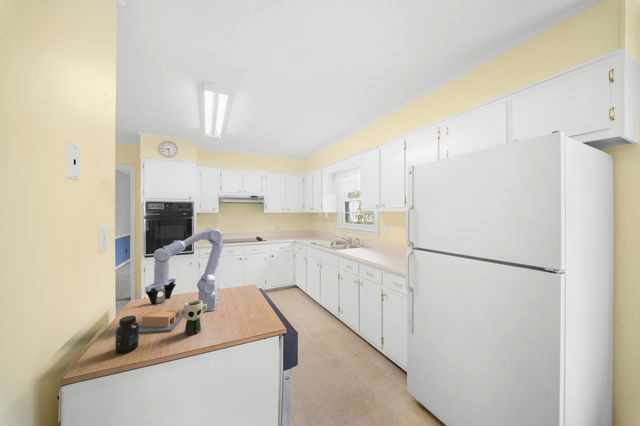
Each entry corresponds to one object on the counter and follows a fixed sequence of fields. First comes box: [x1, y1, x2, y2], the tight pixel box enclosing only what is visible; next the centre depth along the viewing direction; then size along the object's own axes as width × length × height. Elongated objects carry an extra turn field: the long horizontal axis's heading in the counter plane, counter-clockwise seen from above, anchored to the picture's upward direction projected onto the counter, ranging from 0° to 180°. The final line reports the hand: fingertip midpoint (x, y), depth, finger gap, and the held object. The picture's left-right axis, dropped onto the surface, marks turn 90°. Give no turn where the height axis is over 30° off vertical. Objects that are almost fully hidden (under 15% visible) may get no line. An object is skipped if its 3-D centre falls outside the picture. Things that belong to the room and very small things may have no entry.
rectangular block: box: [141, 311, 177, 327], centre depth 106 cm, size 12×5×4 cm, turn 90°
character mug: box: [178, 299, 207, 335], centre depth 102 cm, size 11×7×13 cm, turn 132°
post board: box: [139, 316, 183, 335], centre depth 106 cm, size 15×12×4 cm
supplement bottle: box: [114, 315, 140, 355], centre depth 88 cm, size 7×7×12 cm
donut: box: [155, 286, 168, 304], centre depth 133 cm, size 10×4×10 cm, turn 119°
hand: (160, 301), depth 111 cm, fingers open, 7 cm apart
